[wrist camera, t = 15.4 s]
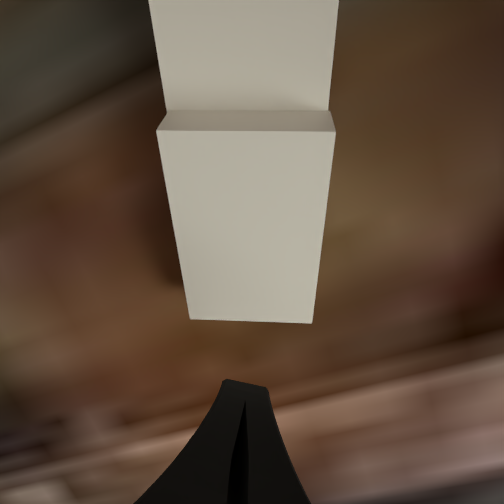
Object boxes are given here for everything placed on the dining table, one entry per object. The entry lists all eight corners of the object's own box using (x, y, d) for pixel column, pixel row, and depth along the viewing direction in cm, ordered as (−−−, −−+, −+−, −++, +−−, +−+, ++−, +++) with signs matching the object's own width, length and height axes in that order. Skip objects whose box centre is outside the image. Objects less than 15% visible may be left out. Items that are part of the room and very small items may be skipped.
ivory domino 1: (318, 206, 14) (347, -88, 9) (182, 204, 14) (135, -81, 9) (315, 184, 15) (339, -86, 10) (189, 183, 15) (152, -79, 10)
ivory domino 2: (311, 323, 16) (335, 131, 11) (190, 319, 16) (156, 130, 11) (309, 294, 17) (330, 111, 12) (196, 291, 17) (168, 110, 12)
